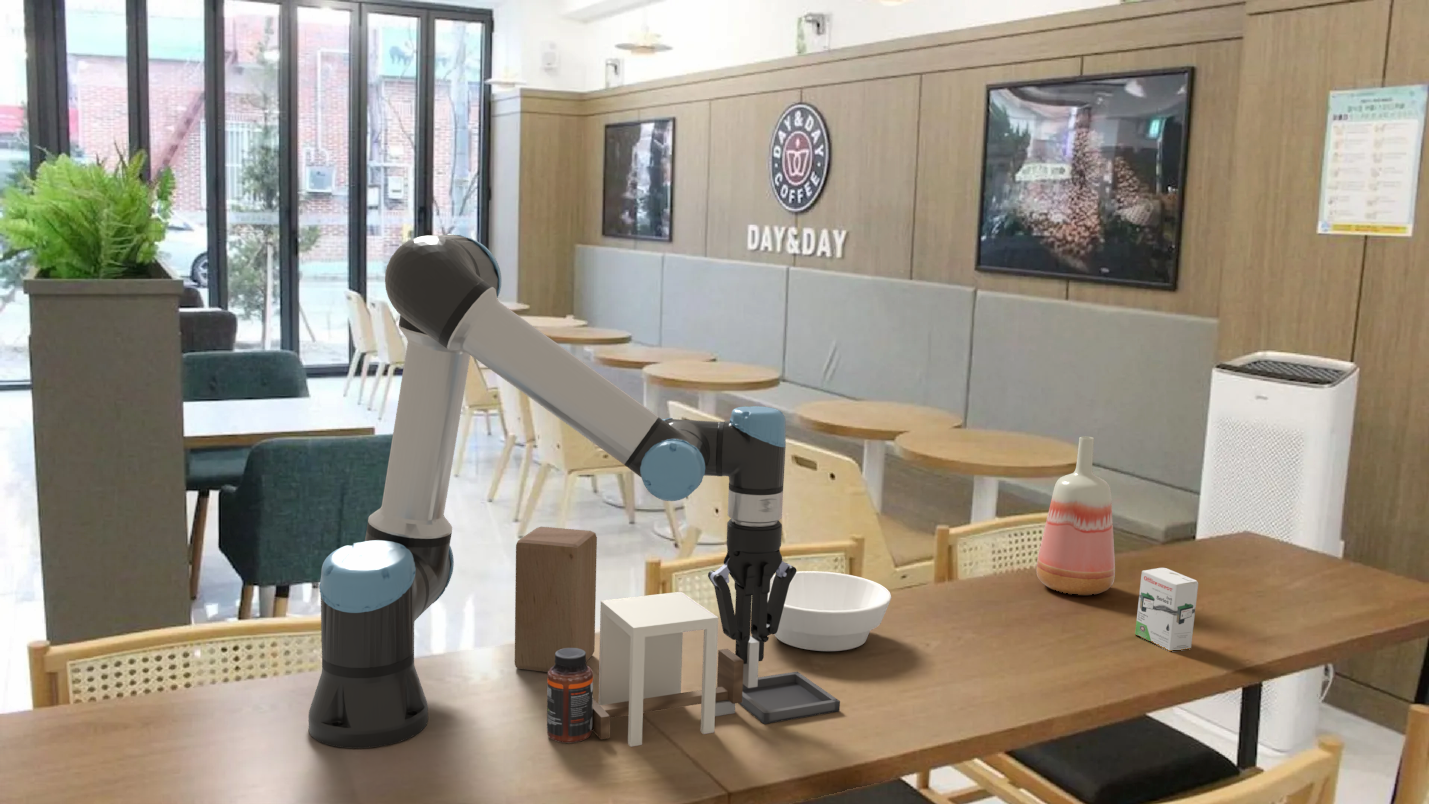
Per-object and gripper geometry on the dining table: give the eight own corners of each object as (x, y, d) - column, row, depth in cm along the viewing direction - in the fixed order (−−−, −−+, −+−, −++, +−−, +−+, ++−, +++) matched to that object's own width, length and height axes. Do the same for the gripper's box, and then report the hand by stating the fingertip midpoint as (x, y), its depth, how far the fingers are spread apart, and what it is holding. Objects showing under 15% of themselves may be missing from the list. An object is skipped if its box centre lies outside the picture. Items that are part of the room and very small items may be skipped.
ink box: (1133, 635, 205) (1139, 568, 203) (1155, 632, 206) (1161, 566, 205) (1170, 652, 197) (1176, 583, 195) (1193, 649, 199) (1200, 580, 197)
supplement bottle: (601, 732, 158) (603, 650, 156) (574, 749, 153) (576, 664, 151) (564, 722, 161) (566, 641, 159) (537, 738, 156) (538, 654, 154)
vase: (1116, 585, 234) (1129, 435, 230) (1108, 605, 221) (1122, 447, 217) (1041, 574, 240) (1052, 428, 236) (1029, 593, 227) (1040, 439, 222)
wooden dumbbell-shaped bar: (600, 739, 155) (602, 684, 154) (582, 718, 161) (583, 665, 160) (744, 715, 164) (747, 663, 163) (722, 696, 170) (724, 646, 169)
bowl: (733, 650, 191) (735, 599, 190) (775, 610, 212) (777, 564, 211) (871, 672, 183) (874, 620, 182) (901, 628, 204) (903, 581, 203)
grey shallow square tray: (764, 724, 163) (764, 713, 162) (724, 692, 173) (725, 682, 173) (839, 711, 168) (840, 701, 168) (796, 681, 178) (797, 671, 178)
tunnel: (630, 746, 154) (633, 627, 152) (598, 712, 165) (600, 600, 162) (750, 726, 162) (755, 612, 159) (712, 694, 172) (716, 587, 170)
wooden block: (576, 677, 177) (578, 546, 174) (512, 670, 179) (513, 540, 176) (596, 654, 187) (598, 529, 184) (535, 648, 188) (536, 524, 186)
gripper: (724, 530, 158) (718, 700, 162) (809, 522, 164) (802, 687, 167) (700, 517, 165) (694, 680, 168) (782, 510, 170) (776, 668, 174)
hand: (748, 683), depth 168 cm, fingers closed
